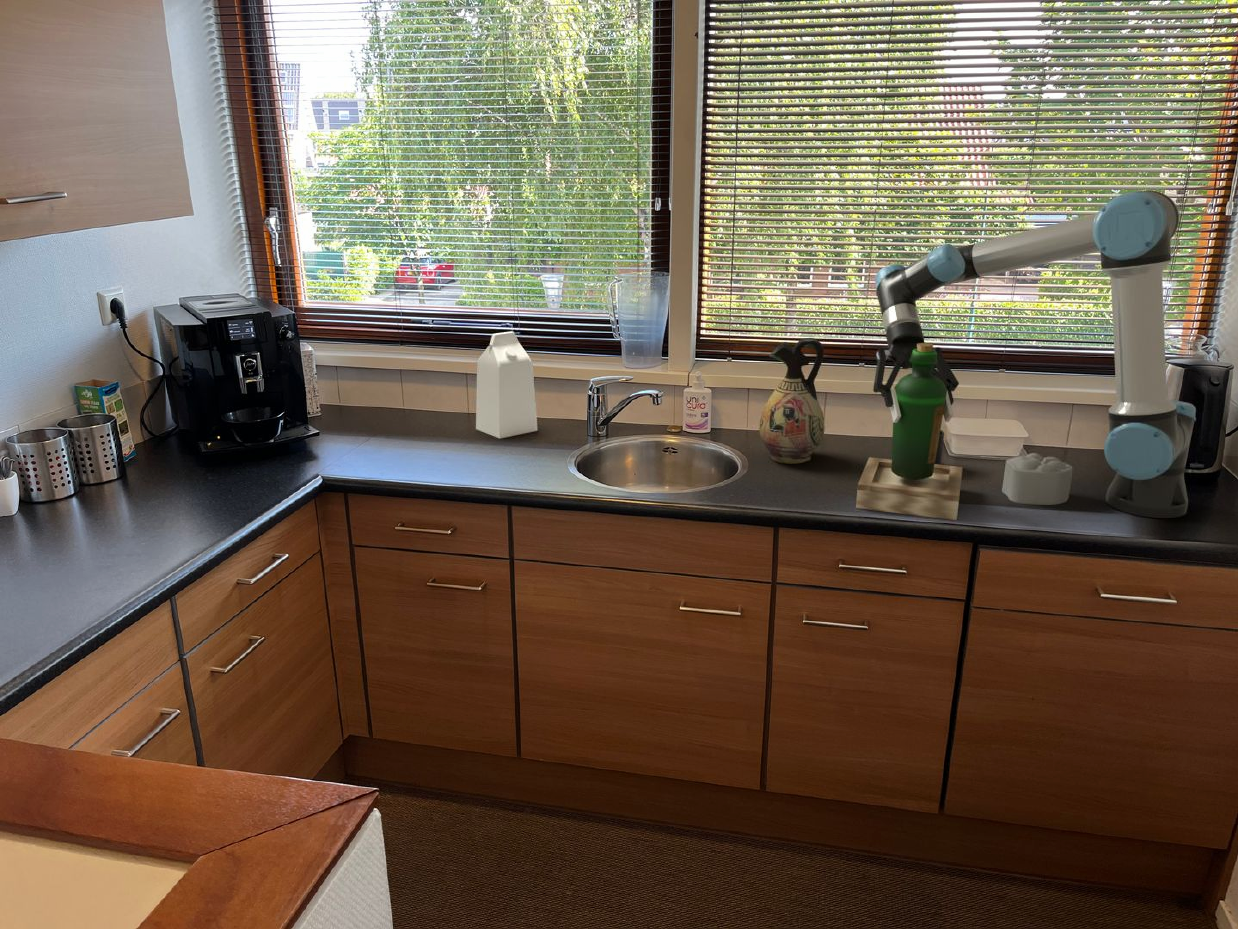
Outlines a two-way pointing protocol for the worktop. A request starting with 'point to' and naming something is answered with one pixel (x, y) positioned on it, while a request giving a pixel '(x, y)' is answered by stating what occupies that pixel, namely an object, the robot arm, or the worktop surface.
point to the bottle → (918, 417)
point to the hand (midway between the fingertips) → (923, 419)
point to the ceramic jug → (794, 407)
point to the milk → (505, 389)
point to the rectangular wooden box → (909, 491)
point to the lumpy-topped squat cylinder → (1037, 480)
